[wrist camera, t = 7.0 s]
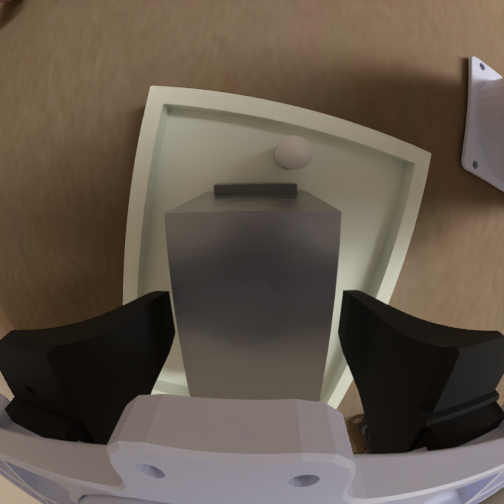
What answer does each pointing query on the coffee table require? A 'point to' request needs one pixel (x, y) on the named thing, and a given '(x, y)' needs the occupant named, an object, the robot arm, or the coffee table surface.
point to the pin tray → (271, 170)
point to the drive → (254, 289)
